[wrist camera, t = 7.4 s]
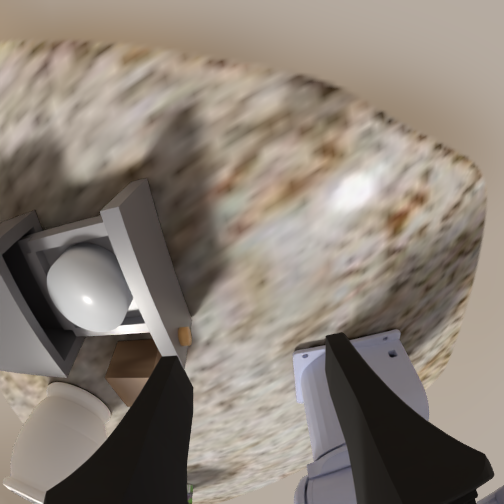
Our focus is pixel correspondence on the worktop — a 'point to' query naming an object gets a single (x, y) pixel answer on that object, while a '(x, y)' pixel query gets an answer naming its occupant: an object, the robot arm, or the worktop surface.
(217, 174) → the worktop surface
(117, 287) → the white dome cap
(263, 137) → the worktop surface
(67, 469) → the jar
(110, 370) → the walnut block
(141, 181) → the grey drawer
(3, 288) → the block
